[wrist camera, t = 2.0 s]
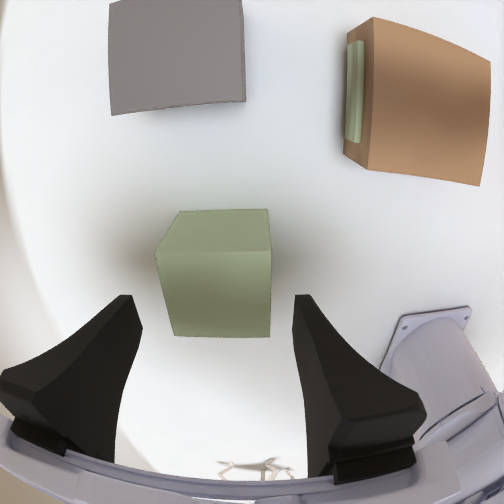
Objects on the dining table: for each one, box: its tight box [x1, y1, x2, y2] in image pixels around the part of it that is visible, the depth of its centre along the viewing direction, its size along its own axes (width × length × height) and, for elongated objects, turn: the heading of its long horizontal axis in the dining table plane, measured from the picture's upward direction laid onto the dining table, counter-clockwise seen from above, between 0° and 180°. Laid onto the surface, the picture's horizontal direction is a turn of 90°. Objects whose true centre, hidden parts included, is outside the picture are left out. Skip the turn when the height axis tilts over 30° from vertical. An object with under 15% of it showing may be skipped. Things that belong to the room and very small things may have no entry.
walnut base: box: [343, 17, 491, 187], centre depth 11 cm, size 7×7×4 cm
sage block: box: [154, 209, 271, 338], centre depth 15 cm, size 5×5×5 cm
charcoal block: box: [108, 0, 246, 116], centre depth 10 cm, size 5×5×5 cm
